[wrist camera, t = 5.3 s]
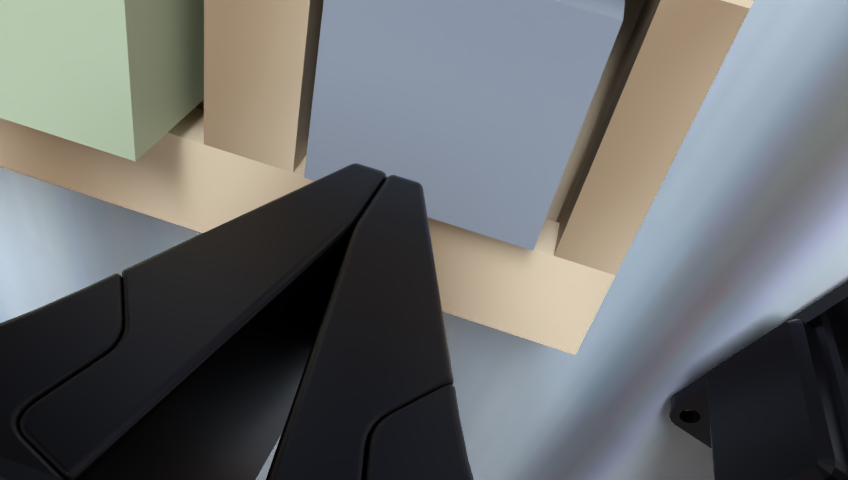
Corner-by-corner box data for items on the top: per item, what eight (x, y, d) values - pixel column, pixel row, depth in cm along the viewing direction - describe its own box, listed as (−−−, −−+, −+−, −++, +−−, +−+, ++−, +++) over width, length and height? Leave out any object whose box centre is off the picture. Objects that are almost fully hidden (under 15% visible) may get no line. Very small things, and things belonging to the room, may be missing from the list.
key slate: (628, -37, 11) (623, 20, 9) (549, 172, 14) (533, 250, 12) (384, -106, 12) (330, -65, 10) (351, 110, 14) (304, 177, 12)
